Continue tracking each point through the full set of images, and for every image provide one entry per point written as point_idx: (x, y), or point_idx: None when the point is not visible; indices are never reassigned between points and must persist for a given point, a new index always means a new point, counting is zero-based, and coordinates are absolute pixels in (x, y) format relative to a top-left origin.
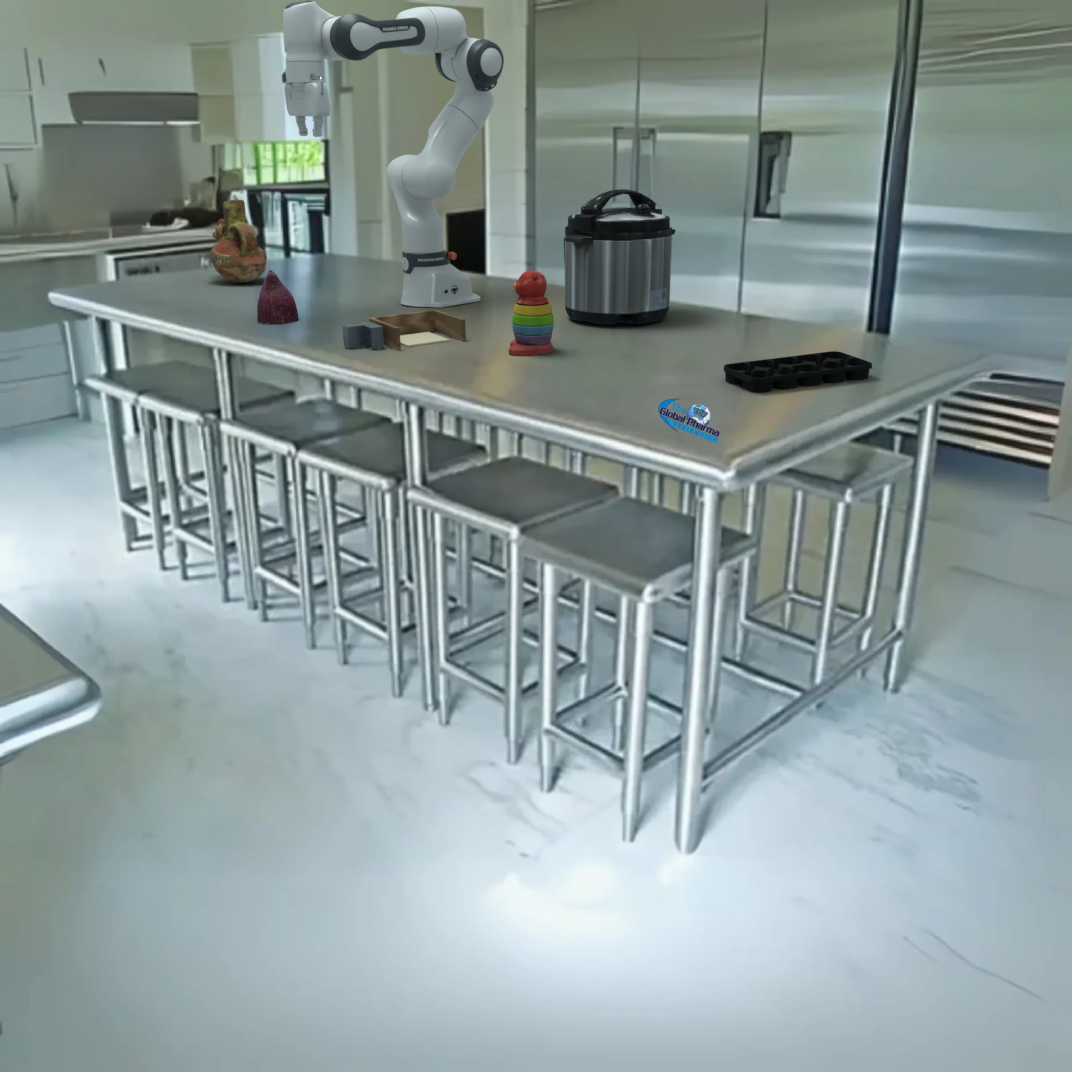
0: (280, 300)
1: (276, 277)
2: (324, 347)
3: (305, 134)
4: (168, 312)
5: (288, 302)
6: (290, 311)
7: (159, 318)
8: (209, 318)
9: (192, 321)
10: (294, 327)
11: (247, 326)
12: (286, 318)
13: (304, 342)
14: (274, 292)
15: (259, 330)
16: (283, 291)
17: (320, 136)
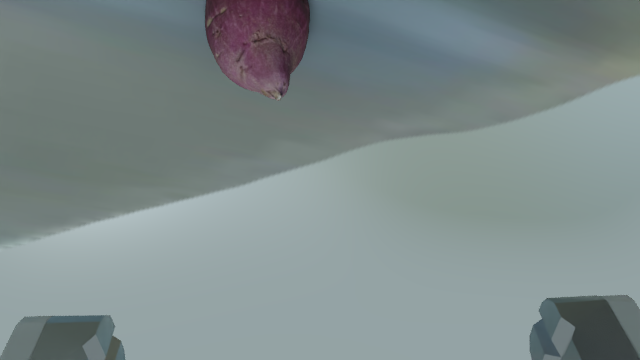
0: (304, 42)
1: (286, 71)
2: (631, 26)
3: (110, 340)
4: (34, 190)
5: (301, 16)
6: (303, 4)
7: (105, 214)
8: (149, 140)
9: (170, 173)
10: (372, 9)
11: (292, 97)
12: (309, 13)
13: (549, 46)
14: (294, 64)
15: (354, 88)
16: (291, 37)
17: (618, 302)
